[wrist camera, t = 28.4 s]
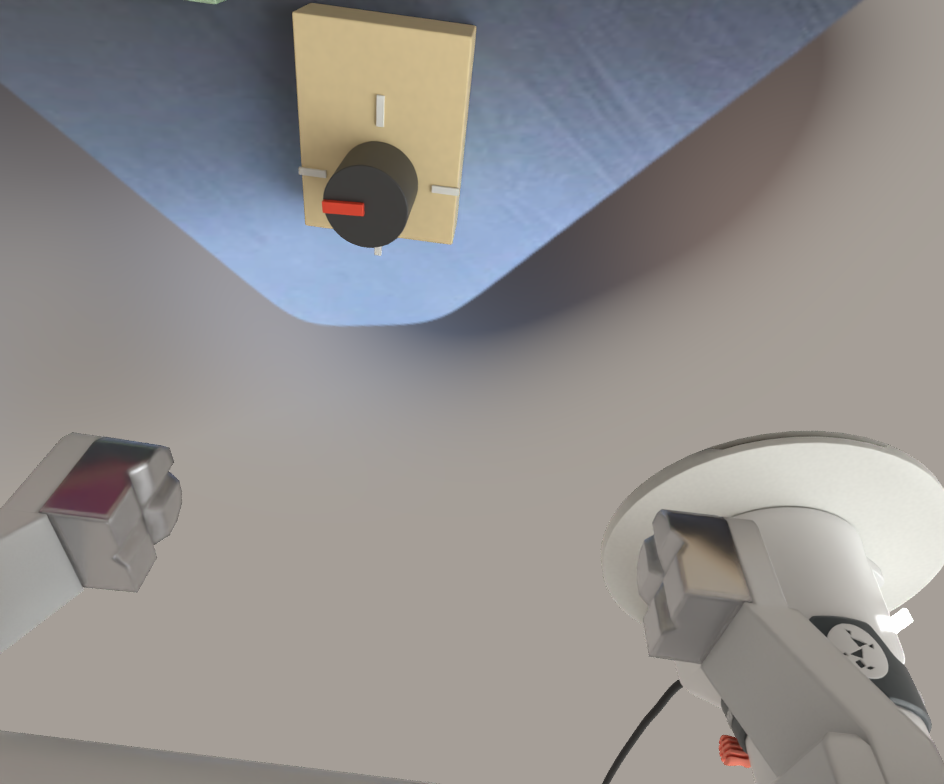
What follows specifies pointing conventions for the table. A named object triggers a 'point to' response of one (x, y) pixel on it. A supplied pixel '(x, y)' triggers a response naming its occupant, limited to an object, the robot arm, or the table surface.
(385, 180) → the dial
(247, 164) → the table surface
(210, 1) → the tray
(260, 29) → the table surface
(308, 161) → the panel
